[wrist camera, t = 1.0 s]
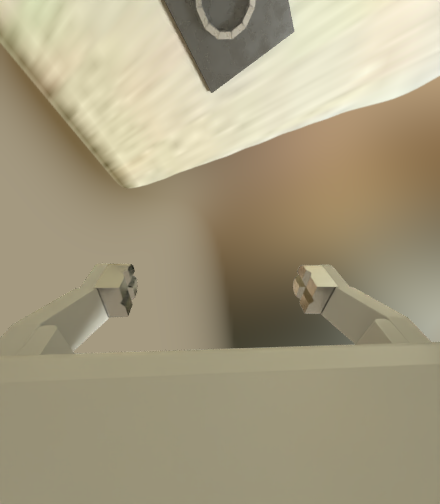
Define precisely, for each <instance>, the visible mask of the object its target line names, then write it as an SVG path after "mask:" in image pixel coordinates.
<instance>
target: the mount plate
mask: <svg viewBox="0 0 440 504" xmlns="http://www.w3.org/2000/svg"><path fill="white" fill-rule="evenodd" d="M165 2H166V4H167V6H168V8H169V10H170V12H171V14H172V16H173V18H174V20H175V22H176V24H177V26H178V28H179V30H180V32H181V34H182V36H183V38H184V40H185V42H186V44H187V46H188V48H189V50H190V52H191V54H192V56H193V57H194V59H195V61H196V63H197V65H198V67H199V69H200V71H201V73H202V75H203V77H204V79H205V81H206V83H207V85H208V87H209V89H210V91H211V93H213V92H214V91H215V90H217V89H218V88H219V87H221V86H222V85H223V84H225V83H226V82H227V81H229V80H230V79H231V78H233V77H234V76H235V75H237V74H238V73H239V72H241V71H242V70H243V69H245V68H246V67H247V66H249V65H250V64H251V63H253V62H254V61H256V60H257V59H258V58H260V57H261V56H262V55H264V54H265V53H266V52H268V51H269V50H270V49H272V48H273V47H274V46H276V45H277V44H278V43H280V42H281V41H282V40H284V39H285V38H286V37H288V36H289V35H290V34H292V33H293V32H294V27H293V22H292V17H291V12H290V7H289V2H288V0H165Z"/></svg>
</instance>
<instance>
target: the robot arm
mask: <svg viewBox="0 0 440 504" xmlns="http://www.w3.org/2000/svg"><path fill="white" fill-rule="evenodd" d="M134 272H135V270H134V267H133V265H132V264H101V263H99V264H96V265H95V266H94V268H93V269H92V271H91V272H90V274H89V275H88V277H87V278H86V279H85V281H84V283H83V284H82V285H81V287H80V288H75V289H74V290H72V291H70V292H69V293H67V294H65V295H63V296H61V297H60V298H58V299H56V300H54V301H53V302H51V303H49V304H47V305H46V306H44V307H43V308H41V309H39V310H37V311H35V312H33V313H32V314H30V315H28V316H26V317H25V318H23V319H21V320H20V321H18V322H16V323H14V324H12V325H11V326H10V327H9V328H8V330H7V331H6V332H5V333H4V334H3V335H2V336H1V338H0V504H440V342H431V341H430V340H429V339H428V338H427V337H426V336H425V335H424V334H423V333H422V332H421V331H420V330H419V329H418V327H417V326H416V325H415V324H414V323H413V322H412V321H411V320H410V319H409V318H408V317H406V316H404V315H402V314H400V313H399V312H397V311H395V310H393V309H391V308H390V307H388V306H386V305H384V304H382V303H381V302H379V301H377V300H375V299H373V298H372V297H370V296H368V295H366V294H364V293H363V292H361V291H359V290H357V289H355V288H354V287H349V286H348V284H347V283H346V282H345V281H344V280H343V278H342V277H341V276H340V275H339V274H338V272H337V271H336V270H335V269H334V267H333V266H331V265H300V267H299V268H298V270H297V272H298V274H299V275H298V276H297V277H295V279H294V282H293V289H294V293H295V295H296V296H297V297H298V298H299V299H301V300H300V302H299V303H300V305H301V307H302V309H303V311H304V313H305V314H322V315H323V316H324V317H325V318H326V319H327V320H328V321H329V322H330V323H332V324H333V325H334V326H335V327H336V328H337V329H338V330H340V331H341V332H342V333H343V334H344V335H345V336H347V337H348V338H349V339H350V340H351V341H352V342H353V343H354V344H355V345H331V346H330V345H329V346H302V347H301V346H300V347H299V346H298V347H271V348H270V347H268V348H239V349H238V348H236V349H204V350H173V351H143V352H113V353H112V352H110V353H79V354H74V353H73V351H74V350H75V349H76V348H77V347H78V346H79V345H81V344H82V343H83V342H84V341H85V340H86V339H87V338H88V337H89V336H90V335H91V334H92V333H93V332H95V331H96V330H97V329H98V328H99V327H100V326H101V325H102V324H103V323H104V322H105V321H106V320H107V319H108V317H127V316H129V313H130V310H131V308H132V301H131V300H132V299H134V298H135V296H136V293H137V287H138V286H137V278H136V277H135V276H133V274H134Z"/></svg>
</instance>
